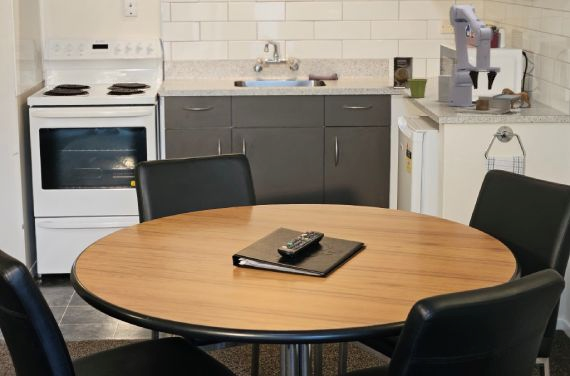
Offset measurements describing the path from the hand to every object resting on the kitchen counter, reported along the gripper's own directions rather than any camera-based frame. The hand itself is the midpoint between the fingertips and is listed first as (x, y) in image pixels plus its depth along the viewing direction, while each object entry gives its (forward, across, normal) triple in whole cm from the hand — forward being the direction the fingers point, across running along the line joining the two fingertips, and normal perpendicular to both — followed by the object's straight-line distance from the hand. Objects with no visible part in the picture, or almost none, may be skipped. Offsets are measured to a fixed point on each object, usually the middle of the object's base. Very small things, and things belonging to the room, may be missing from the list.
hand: (482, 89), depth 403 cm
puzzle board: (+9, 0, 0) cm, 9 cm away
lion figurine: (+10, +9, +16) cm, 21 cm away
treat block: (+10, 0, 0) cm, 10 cm away
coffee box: (+10, -74, +70) cm, 103 cm away
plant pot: (+10, -48, +36) cm, 60 cm away
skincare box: (+10, -29, +26) cm, 40 cm away
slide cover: (+3, +11, 0) cm, 11 cm away
